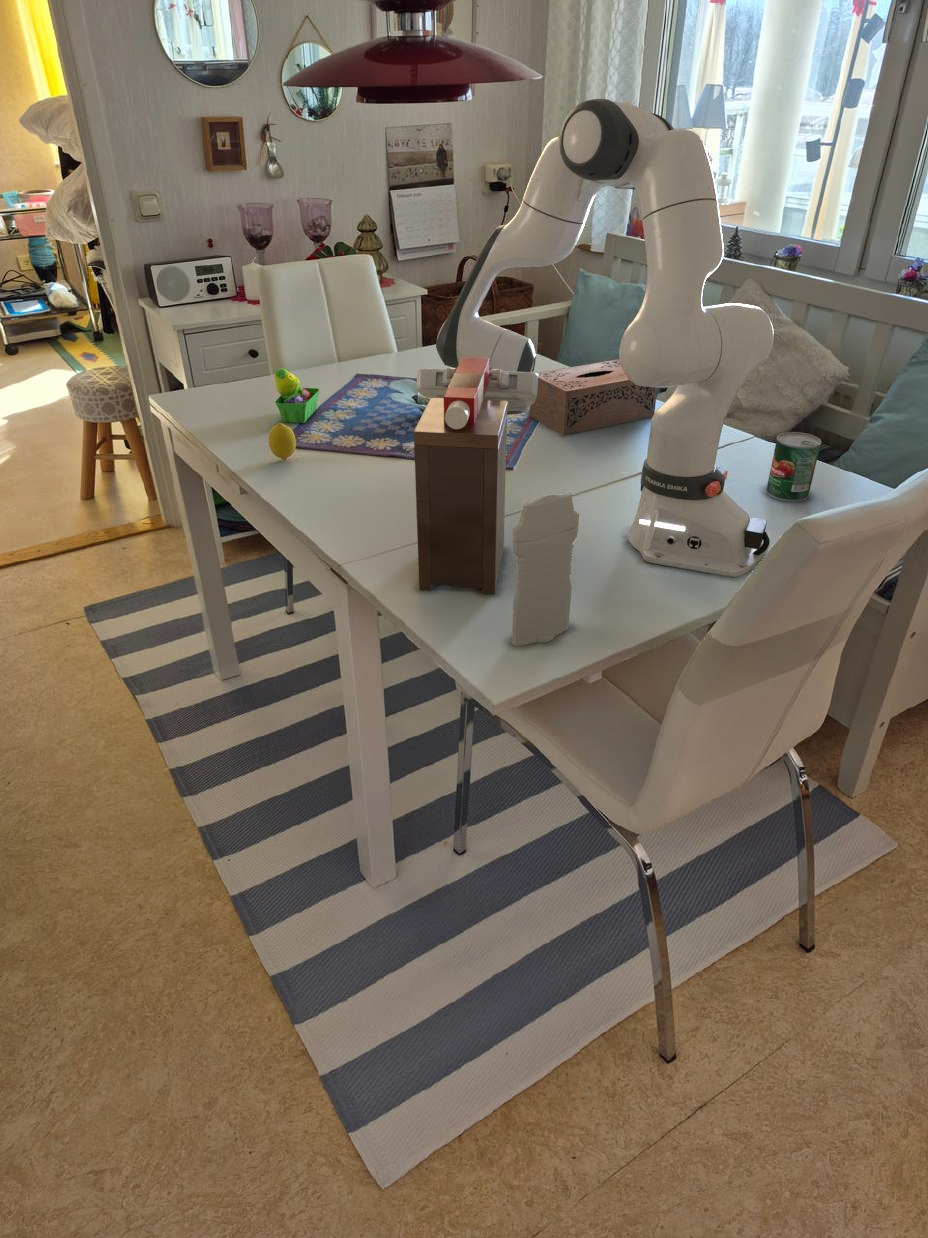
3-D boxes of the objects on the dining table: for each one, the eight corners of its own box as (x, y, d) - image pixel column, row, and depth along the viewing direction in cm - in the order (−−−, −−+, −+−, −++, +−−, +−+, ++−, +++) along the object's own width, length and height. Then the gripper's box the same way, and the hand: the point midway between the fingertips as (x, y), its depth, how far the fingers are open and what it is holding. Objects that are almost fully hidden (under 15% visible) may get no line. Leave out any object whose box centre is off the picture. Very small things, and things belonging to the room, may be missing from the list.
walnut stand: (434, 545, 148) (430, 397, 134) (503, 549, 146) (507, 400, 132) (419, 589, 135) (413, 431, 121) (494, 594, 134) (498, 435, 120)
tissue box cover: (616, 398, 213) (620, 358, 208) (654, 416, 203) (659, 374, 197) (529, 415, 203) (530, 373, 198) (563, 435, 192) (566, 391, 187)
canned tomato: (757, 492, 166) (768, 438, 160) (780, 481, 170) (791, 428, 164) (794, 505, 161) (806, 450, 155) (816, 494, 165) (829, 440, 159)
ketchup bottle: (472, 432, 121) (472, 404, 118) (440, 431, 121) (439, 403, 119) (489, 382, 140) (489, 358, 138) (461, 381, 140) (461, 357, 138)
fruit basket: (308, 425, 198) (303, 376, 192) (271, 423, 199) (265, 374, 193) (322, 409, 207) (318, 362, 201) (287, 407, 209) (282, 360, 202)
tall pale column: (562, 618, 128) (571, 481, 116) (578, 631, 125) (590, 492, 113) (502, 638, 123) (505, 498, 112) (517, 652, 120) (523, 509, 109)
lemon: (292, 465, 178) (287, 428, 173) (267, 463, 179) (262, 426, 174) (301, 455, 182) (297, 419, 178) (277, 454, 183) (272, 417, 179)
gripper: (423, 372, 151) (410, 351, 137) (540, 376, 149) (538, 355, 135) (421, 408, 151) (407, 391, 137) (537, 413, 149) (535, 395, 135)
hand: (473, 373), depth 136 cm, fingers open, 6 cm apart
